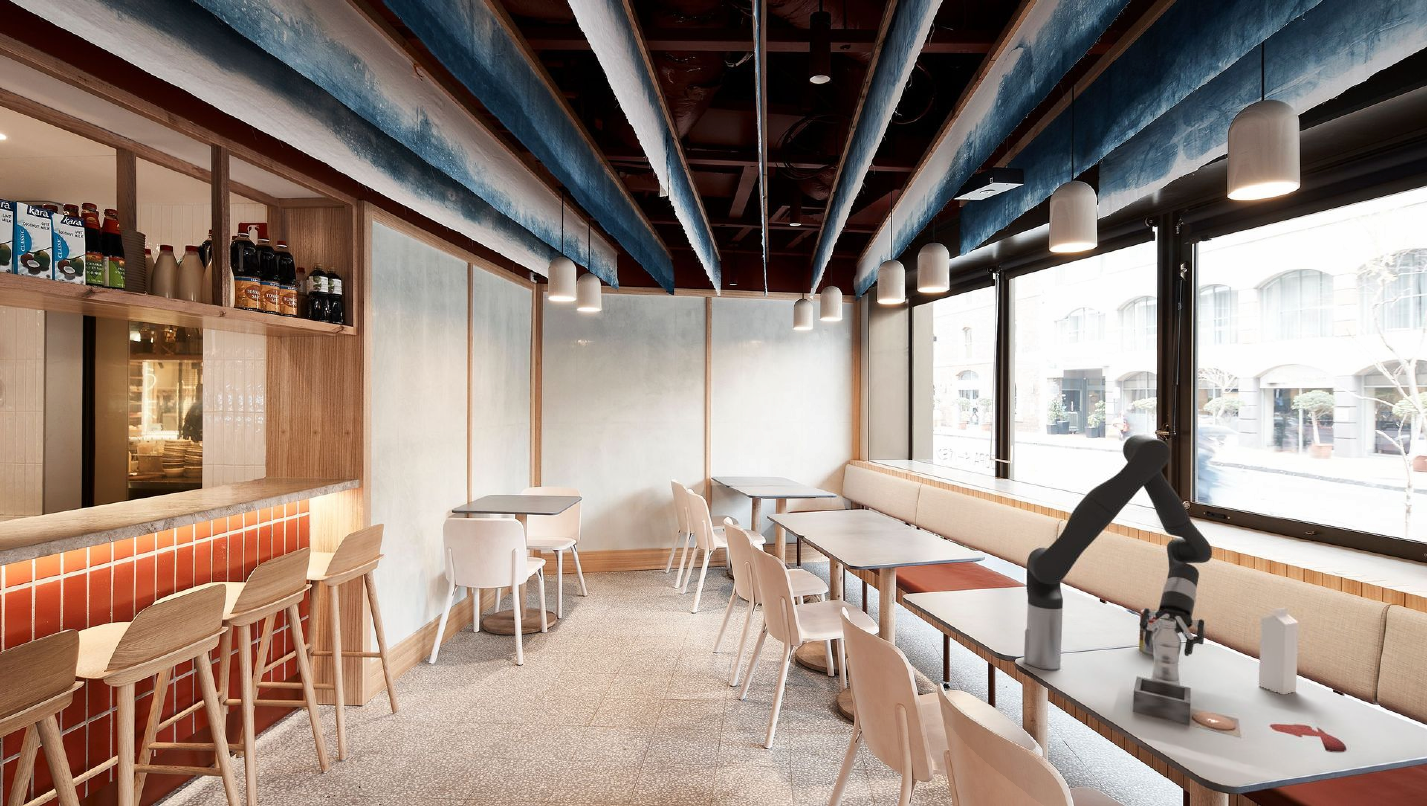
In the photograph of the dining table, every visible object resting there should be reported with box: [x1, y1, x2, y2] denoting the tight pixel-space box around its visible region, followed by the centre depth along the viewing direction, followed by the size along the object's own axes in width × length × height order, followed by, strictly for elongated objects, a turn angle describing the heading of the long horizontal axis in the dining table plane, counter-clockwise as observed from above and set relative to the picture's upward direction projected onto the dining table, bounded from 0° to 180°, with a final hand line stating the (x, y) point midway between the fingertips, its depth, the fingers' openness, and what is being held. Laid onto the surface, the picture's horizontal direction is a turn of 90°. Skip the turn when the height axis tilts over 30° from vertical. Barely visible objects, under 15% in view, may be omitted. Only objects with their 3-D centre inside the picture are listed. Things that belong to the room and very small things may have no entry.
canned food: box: [1138, 608, 1158, 656], centre depth 219 cm, size 8×8×12 cm
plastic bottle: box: [1150, 618, 1183, 686], centre depth 184 cm, size 6×7×20 cm
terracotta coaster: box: [1192, 712, 1236, 730], centre depth 166 cm, size 8×8×1 cm
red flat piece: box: [1269, 723, 1347, 752], centre depth 163 cm, size 18×14×2 cm
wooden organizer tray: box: [1132, 676, 1242, 739], centre depth 170 cm, size 21×12×6 cm, turn 56°
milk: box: [1258, 607, 1300, 696], centre depth 192 cm, size 6×6×22 cm
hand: (1167, 649), depth 185 cm, fingers open, 8 cm apart
